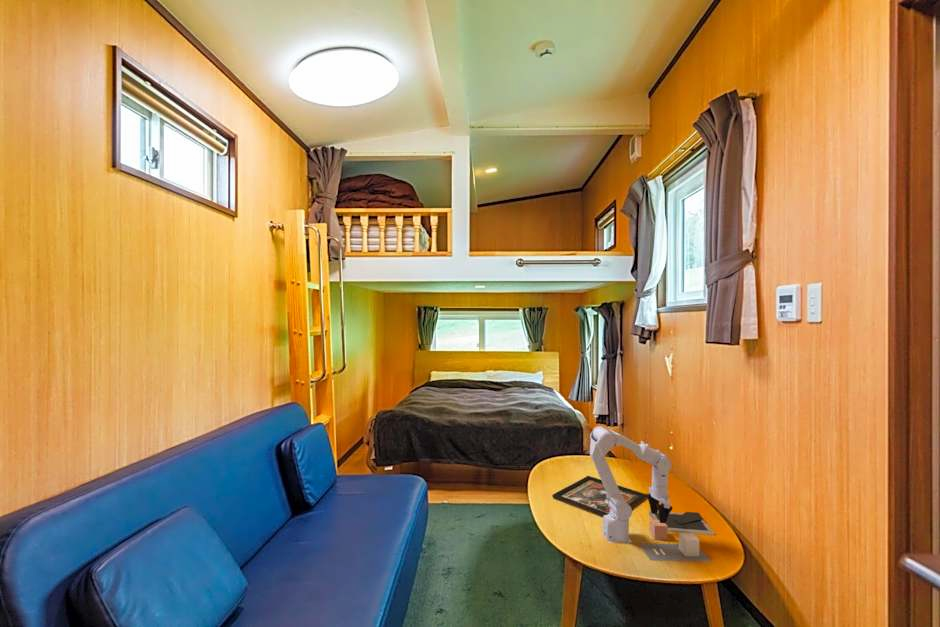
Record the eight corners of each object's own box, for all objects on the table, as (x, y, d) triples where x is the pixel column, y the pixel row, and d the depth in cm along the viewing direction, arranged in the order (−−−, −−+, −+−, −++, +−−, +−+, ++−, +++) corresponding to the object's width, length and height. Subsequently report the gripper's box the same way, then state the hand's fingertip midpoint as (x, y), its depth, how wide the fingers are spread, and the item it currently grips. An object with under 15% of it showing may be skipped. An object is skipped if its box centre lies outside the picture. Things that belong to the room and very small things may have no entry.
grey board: (650, 562, 153) (650, 560, 153) (638, 544, 164) (638, 543, 164) (711, 563, 153) (712, 561, 153) (695, 545, 164) (695, 544, 164)
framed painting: (624, 526, 179) (625, 519, 179) (548, 502, 200) (548, 496, 200) (649, 496, 209) (649, 490, 209) (580, 478, 230) (580, 473, 230)
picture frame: (698, 519, 187) (648, 515, 190) (698, 512, 187) (648, 509, 190) (714, 538, 172) (660, 534, 174) (714, 531, 171) (660, 527, 174)
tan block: (685, 556, 156) (686, 539, 156) (678, 548, 161) (679, 532, 161) (699, 556, 156) (699, 540, 156) (691, 548, 161) (692, 532, 161)
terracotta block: (654, 541, 167) (654, 525, 167) (649, 534, 172) (649, 519, 172) (667, 541, 167) (667, 526, 167) (661, 534, 172) (662, 519, 172)
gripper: (678, 491, 162) (677, 527, 162) (661, 476, 177) (660, 509, 177) (660, 491, 162) (658, 527, 162) (644, 476, 177) (643, 509, 177)
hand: (658, 517), depth 169 cm, fingers open, 7 cm apart
